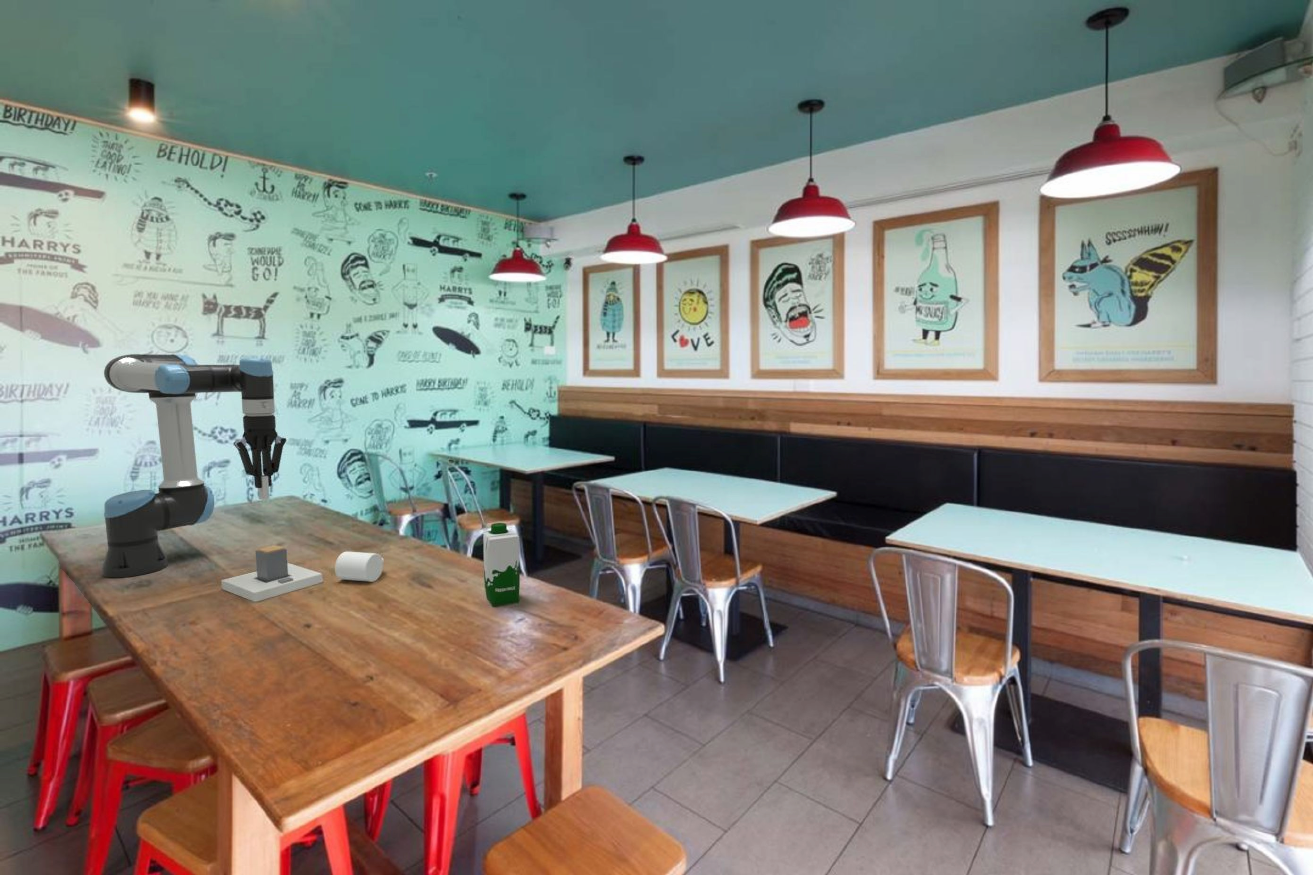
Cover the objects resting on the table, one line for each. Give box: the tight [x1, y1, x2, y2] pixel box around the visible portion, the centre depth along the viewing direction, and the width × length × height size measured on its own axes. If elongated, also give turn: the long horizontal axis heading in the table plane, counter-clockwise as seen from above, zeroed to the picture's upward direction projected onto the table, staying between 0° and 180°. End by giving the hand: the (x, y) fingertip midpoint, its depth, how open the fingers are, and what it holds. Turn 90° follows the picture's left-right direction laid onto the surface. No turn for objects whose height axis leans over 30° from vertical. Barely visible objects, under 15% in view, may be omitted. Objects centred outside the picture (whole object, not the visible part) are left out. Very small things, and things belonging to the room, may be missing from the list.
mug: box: [334, 551, 385, 583], centre depth 183 cm, size 12×10×8 cm
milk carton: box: [482, 522, 521, 608], centre depth 164 cm, size 9×9×20 cm
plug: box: [255, 544, 288, 583], centre depth 175 cm, size 6×6×10 cm
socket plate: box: [221, 562, 323, 603], centre depth 176 cm, size 18×18×3 cm
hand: (264, 498), depth 175 cm, fingers closed
